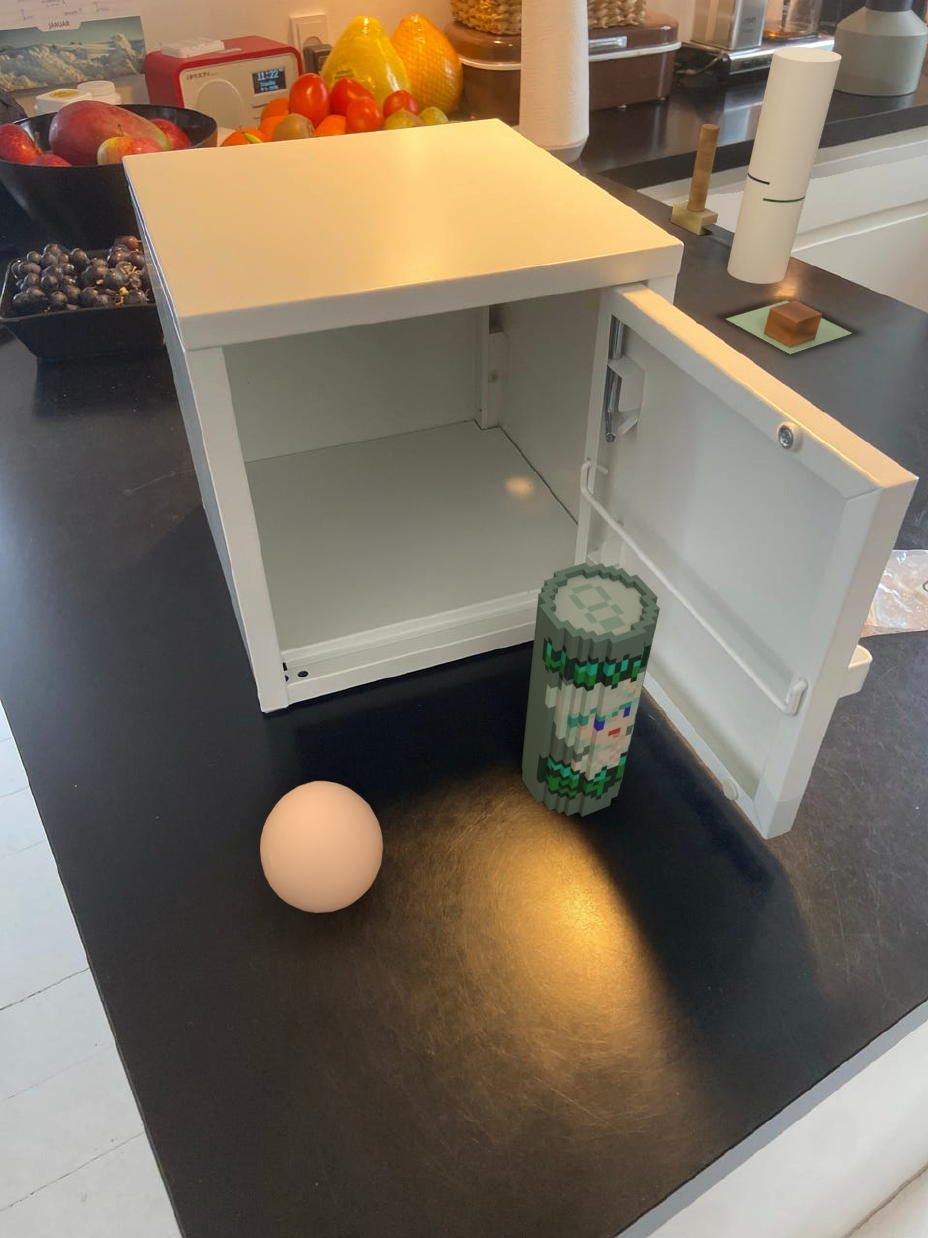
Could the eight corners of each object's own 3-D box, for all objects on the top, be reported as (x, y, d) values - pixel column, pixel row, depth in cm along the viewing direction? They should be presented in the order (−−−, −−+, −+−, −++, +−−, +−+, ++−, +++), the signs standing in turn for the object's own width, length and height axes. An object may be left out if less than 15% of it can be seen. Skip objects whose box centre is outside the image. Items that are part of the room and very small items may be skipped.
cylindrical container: (745, 264, 120) (795, 43, 103) (793, 281, 116) (853, 55, 99) (714, 279, 116) (760, 53, 99) (763, 297, 112) (820, 65, 95)
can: (553, 828, 56) (578, 655, 45) (507, 756, 60) (521, 581, 49) (637, 794, 58) (679, 620, 47) (587, 726, 62) (616, 553, 51)
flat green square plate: (783, 309, 110) (786, 300, 109) (849, 342, 104) (852, 332, 103) (723, 328, 106) (725, 318, 105) (787, 363, 100) (790, 353, 99)
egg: (406, 900, 52) (402, 819, 46) (299, 959, 49) (281, 880, 44) (353, 817, 56) (343, 733, 51) (251, 866, 53) (229, 784, 48)
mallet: (670, 222, 131) (686, 121, 122) (685, 218, 132) (703, 118, 123) (699, 235, 127) (718, 133, 118) (714, 231, 128) (735, 130, 120)
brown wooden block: (788, 325, 104) (795, 300, 102) (815, 339, 102) (822, 313, 100) (763, 333, 103) (769, 307, 101) (789, 347, 100) (797, 321, 98)
